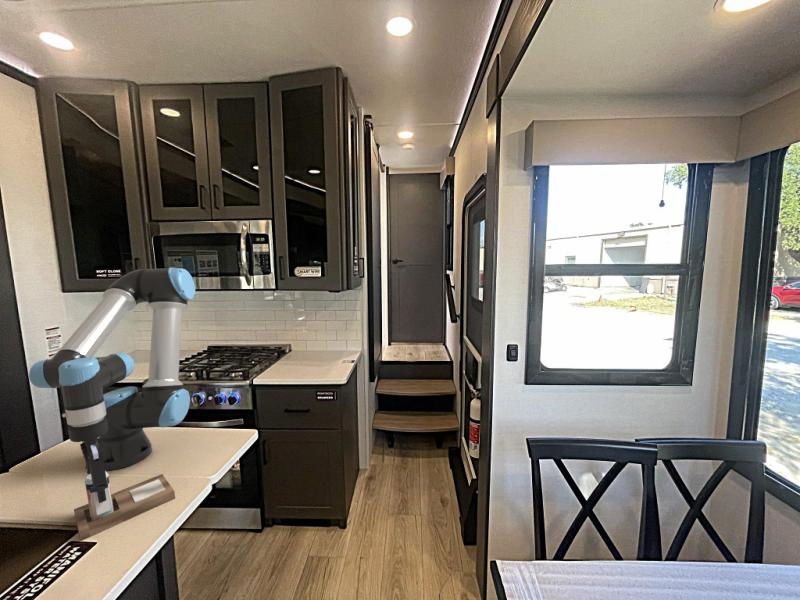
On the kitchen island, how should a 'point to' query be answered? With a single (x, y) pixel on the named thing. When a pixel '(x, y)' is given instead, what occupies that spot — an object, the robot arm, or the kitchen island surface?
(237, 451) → the kitchen island surface
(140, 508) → the pocket board
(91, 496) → the beer can
